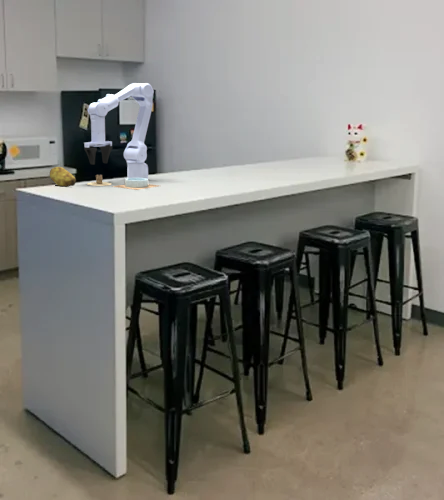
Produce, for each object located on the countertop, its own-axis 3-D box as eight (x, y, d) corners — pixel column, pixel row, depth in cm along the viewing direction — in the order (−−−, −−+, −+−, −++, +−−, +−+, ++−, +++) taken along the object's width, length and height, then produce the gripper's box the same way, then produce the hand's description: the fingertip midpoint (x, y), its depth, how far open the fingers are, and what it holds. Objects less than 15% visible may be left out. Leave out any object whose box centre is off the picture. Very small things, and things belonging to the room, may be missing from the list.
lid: (99, 183, 279) (99, 173, 278) (116, 185, 273) (116, 175, 272) (82, 185, 270) (81, 175, 269) (99, 187, 265) (99, 177, 264)
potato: (59, 188, 263) (58, 169, 261) (47, 184, 272) (46, 166, 271) (78, 187, 268) (77, 168, 266) (65, 183, 277) (64, 165, 276)
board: (136, 185, 278) (136, 182, 278) (161, 188, 271) (161, 185, 271) (111, 188, 265) (111, 186, 265) (136, 192, 258) (136, 189, 258)
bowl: (135, 183, 274) (135, 177, 274) (152, 186, 269) (152, 179, 268) (120, 186, 266) (120, 179, 266) (137, 188, 261) (137, 181, 261)
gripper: (103, 130, 274) (104, 161, 277) (78, 131, 262) (79, 164, 266) (115, 131, 270) (115, 163, 274) (90, 132, 259) (91, 165, 262)
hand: (98, 163), depth 269 cm, fingers open, 7 cm apart
